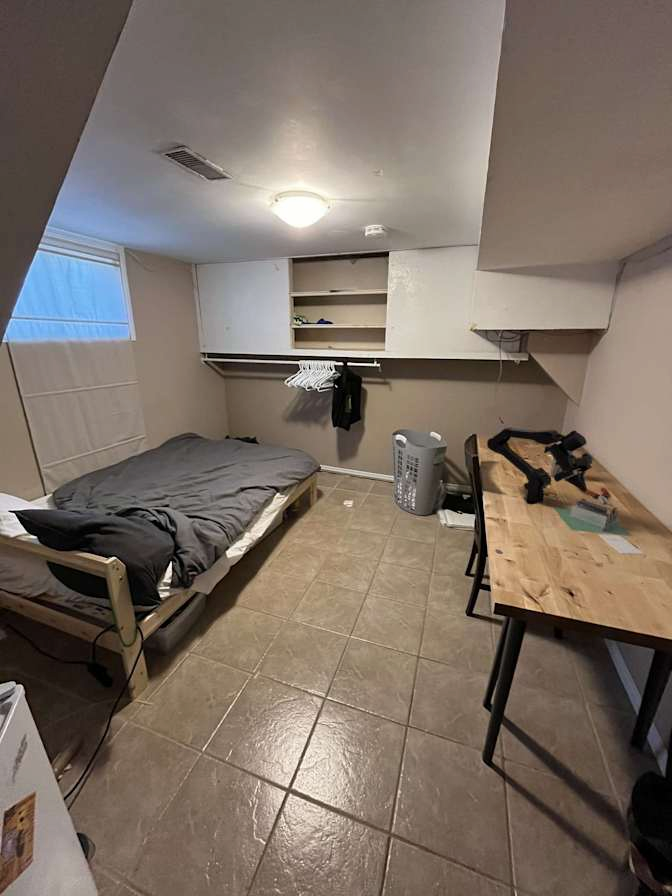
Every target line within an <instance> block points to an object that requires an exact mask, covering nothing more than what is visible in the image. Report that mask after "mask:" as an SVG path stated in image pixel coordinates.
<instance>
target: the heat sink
mask: <svg viewBox="0 0 672 896" xmlns="http://www.w3.org/2000/svg"><path fill="white" fill-rule="evenodd" d="M586 499H587V498H584V497H582V498H581V499H580V500H585V501H588V502H591V503H594V504H597V505H600V506H603V507H606V508H609V509H612V510H614V511H613V513H611V512H612V510H607V513H606V512H603V511H600V510H597V509H594V508H591V507H588V506H586V505H583V504H580V500H575V502H574V504H575V505H574V504H573V505H572V506H571V509H572V510H571V515H569V519H571V520H574V521H576V522H579V523H582V524H584V525H587V526H590V527H592V528H595V529H598V530H600V531H604V530H606V529H607V528H609V527H611V526H613V525H615V524H616V523H618V517H619V513H620V511H619V510H618V508H619V507H618V506H613V508H611V507H608V506H605V505H602V504H598V503H596V502H592V501H590V500H586Z"/></svg>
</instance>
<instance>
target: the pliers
mask: <svg viewBox="0 0 672 896" xmlns="http://www.w3.org/2000/svg"><path fill="white" fill-rule="evenodd" d="M577 489H578V490H579V492H580V493H582V492H583V494H585V495H587V494H588V495H587V496H589V495H590V497H591V496H592V497H591V498H592V499H593V498H594V500H595V498H596V500H597V501H598V502H600V504H601V505H602V504H603V505H602V506H605V504H608V505H610V506H612V503H611V502H610V501H609V500H608V498H609V496H608V490H607V489H606V488H605V487H602V486H601V487H600V490H601V491H600V492H602V493H601V494H600V493H598V492H594V491H593V490H590V489H588V488H587V491H585V492H584V491H582V490H580V489H579V488H577Z"/></svg>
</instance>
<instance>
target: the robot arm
mask: <svg viewBox="0 0 672 896" xmlns="http://www.w3.org/2000/svg"><path fill="white" fill-rule="evenodd" d="M511 438H514V439H522V440H529V441H534V442H535V443H538V444H541V445H544V446H545V447H544V451H543V454H547V453H550V454H551V456H552V458H553V457H554V459H555V460H556V463H555V464H556V465H559V466H560V468H561V469H562V471H561V472H559V473H557V474H555V475H554V477H553V480H554V481H555V483H557V482H560V481H561V480H563V479H564V481H565V482H567V483H569V484H570V485H573V486H574V487H575V488H577V489H578V488H579V489H580V490H582V491H584V492H585V491H587V489H588V488H587V484H586V480H585V474H586V473H587V471H588V470H590V469H592V468H593V467H592V464H593V460H594V457H593V456H592V455H590V453H588V452H587V453H583V454H582V456H579V457H576V455H574V454H572V455H570V454H569V452H568V451H573V452H574V451H577V450H578V449H580V448H582V447H584V446H586V445H587V439H586V438H585V437H584V436H583V435H582V434H581V433H580V432H577V430H572V431H570V432H569V433H568V434H565V435H564V434H561V433H559V432H558V430H556V429H544V430H533V429H532V430H531V429H521V428H514V427H506V428H503V429H502V430H501V431H500V432H499V433H497V434H495V435H494V436H493V437H490V438H489V439H488V440H487V443H486V444H487V445H486V446H487V448H488V449H489V450H490V451H492V452H493V453H495V454H499V455H501V456H503V458H505V459H506V460H507V461H509V462H510V463H511V464H512V465H513V466H514V467H515V468H516V469H517V470H519V471H520V472H521V473H522V474H524V475H525V477H526V479H527V482H525V483H524V484H523V487H524V489H525V494H524V496H523V499H524V501H525V502H526V504H529V505H530V504H531V505H537V504H538V503H541V502H544V499H545V493H544V489H547V487H548V486H550V485H551V484H552V476H551V475H550V472H547V471H546V470H545V469H544V468H543V467H538V468H535V467H533V466H532V465H531V464H530V463H529V462H527V461H526V460H525V459H524V458H523V457H521V455H519V454H518V453H517V452H515V451H514V450H513V449H512V448H511V447H510V445H509V443H508V441H510V439H511ZM560 441H561V443H559V444H557V443H558V442H560ZM551 444H552V445H551ZM566 477H567V478H566ZM579 489H578V490H579ZM580 490H579V491H580Z"/></svg>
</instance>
